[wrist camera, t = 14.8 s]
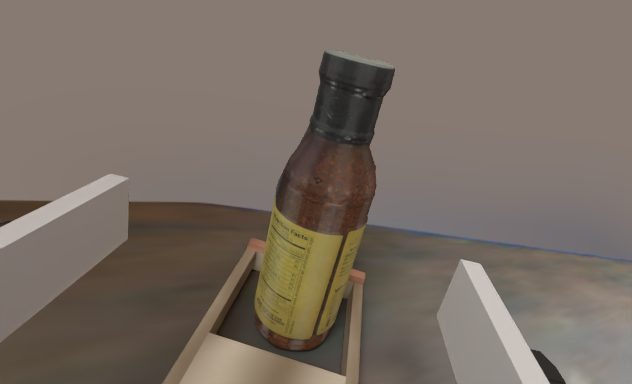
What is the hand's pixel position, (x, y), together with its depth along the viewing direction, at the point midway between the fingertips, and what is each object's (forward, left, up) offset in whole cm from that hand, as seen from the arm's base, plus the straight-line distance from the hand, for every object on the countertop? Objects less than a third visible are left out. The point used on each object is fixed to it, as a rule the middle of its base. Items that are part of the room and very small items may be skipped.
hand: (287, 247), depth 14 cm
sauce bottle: (+1, +10, -13) cm, 16 cm away
